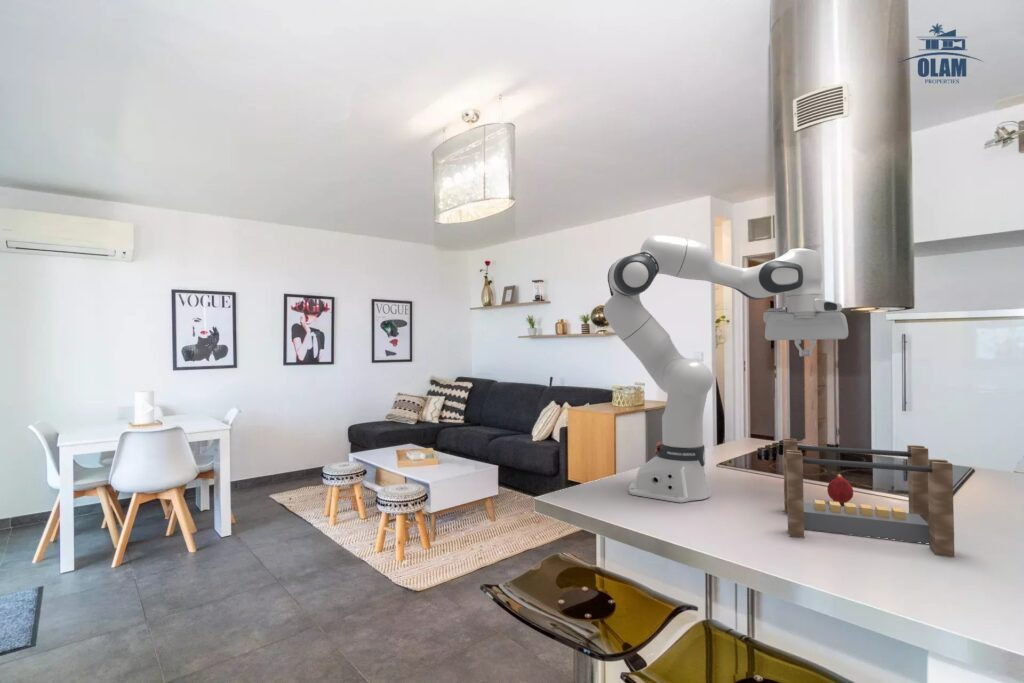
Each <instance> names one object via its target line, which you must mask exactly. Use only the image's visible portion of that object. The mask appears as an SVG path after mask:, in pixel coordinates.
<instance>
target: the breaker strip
mask: <svg viewBox="0 0 1024 683" xmlns="http://www.w3.org/2000/svg"><path fill="white" fill-rule="evenodd" d="M805 529H807V530H806V531H813V530H815V532H822V531H825V532H824V533H830V532H834V533H833V534H838V533H844V534H843V535H847V534H852V535H851V536H855V535H861V536H860V537H863V536H870V537H869V538H871V537H880V538H888V539H895V540H894V541H896V540H903V541H902V542H905V541H911V542H910V543H913V542H921V543H929V525H928V524H927V523H926V521H925V520H924V519H923V518H922V517H921V516H920V515H919V514H913V513H909V512H906V511H905V510H904V509H903V508H901V507H894V506H891V508H890V510H889V508H887V506H882V505H875V506H874V509H873V508H872V506H871V505H870V504H862V503H859V506H858V507H857V505H856V504H855V503H853V502H846V503H844V504H843V505H840V503H839V502H835V501H833V500H832V501H831V500H829V501H828V504H826V502H825V500H821V499H814V500H813V503H812V502H804V530H805ZM880 538H879V539H880ZM888 539H887V540H888ZM921 543H920V544H921ZM928 545H930V543H929V544H928Z"/></svg>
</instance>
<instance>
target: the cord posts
mask: <svg viewBox="0 0 1024 683" xmlns="http://www.w3.org/2000/svg"><path fill="white" fill-rule="evenodd" d="M782 444H783V445H782V446H783V447H782V450H783V451H782V456H783V493H784V494H783V496H784V498H783V500H784V501H783V502H784V515H785V514H788V515H787V533H789V534H788V536H789V535H790V536H789V537H792V536H796V537H795V538H800V537H804V538H805V529H804V503H805V502H804V499H805V498H804V463H803V458H804V457H803V456H804V455H803V453H802V450H798V445H799V444H798V439H797V438H787V437H786V438H785V437H783V438H782ZM906 450H907V451H906V452H911V457H907V465H915V466H929V467H932V473H930V472H916V471H907V485H908V486H907V488H908V489H907V490H908V491H907V492H908V513H913V514H919V515H920V516H921V517H922V518H923V519H924V520H925V521H926V523H927V524H928V525H929V543H930V544H929V549H930V548H931V549H930V550H931V551H932V552H933V554H934V555H935V554H936V555H937V556H944V557H951V558H955V518H954V512H955V511H954V510H955V509H954V478H953V476H954V474H953V473H954V470H953V469H954V468H953V463H951V462H949V461H948V460H946V459H936V458H929V448H927V447H925V446H924V445H917V444H914V445H913V444H907V449H906Z"/></svg>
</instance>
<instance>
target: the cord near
mask: <svg viewBox="0 0 1024 683" xmlns="http://www.w3.org/2000/svg"><path fill="white" fill-rule="evenodd" d="M803 464H807V465H819V466H820V465H822V466H832V467H833V466H836V467H837V466H838V467H848V468H849V467H850V468H862V469H863V468H865V469H875V470H876V469H878V470H888V471H889V470H891V471H903V472H908V471H916V472H930V473H932V467H929V466H915V465H908V464H897V463H896V464H895V463H883V462H869V461H867V462H866V461H852V460H842V459H841V460H840V459H825V458H824V459H822V458H809V457H807V458H806V457H803Z"/></svg>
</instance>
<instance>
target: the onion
mask: <svg viewBox="0 0 1024 683" xmlns="http://www.w3.org/2000/svg"><path fill="white" fill-rule="evenodd" d="M826 491H827V494H828V496H829V497H830V499H831V500H832V501H833V502H839V503H840V505H841V506H844V503H849V501H851V500H852V498H853V497H854V490H853V486H852V484H851V483H850V482H849V481H848V480H847V479H845V478H844V477H843V475H842V474H840V473H839V474H837V476H836V478H834V479H832V480H831V481H829V483H828V485H827V490H826Z"/></svg>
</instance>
